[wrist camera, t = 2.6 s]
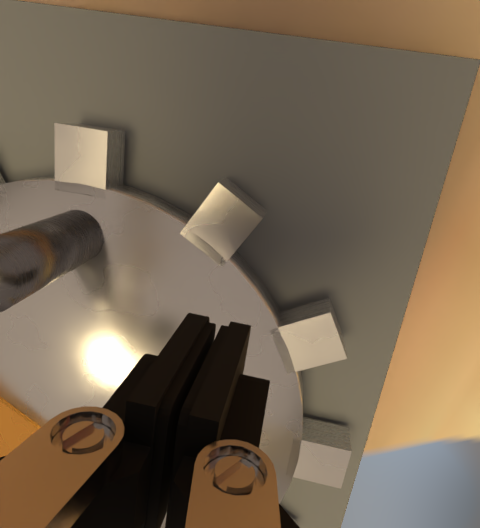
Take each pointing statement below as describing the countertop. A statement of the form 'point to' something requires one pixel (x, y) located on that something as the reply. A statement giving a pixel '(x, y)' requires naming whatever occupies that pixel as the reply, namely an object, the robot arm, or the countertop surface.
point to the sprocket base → (261, 165)
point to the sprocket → (144, 300)
